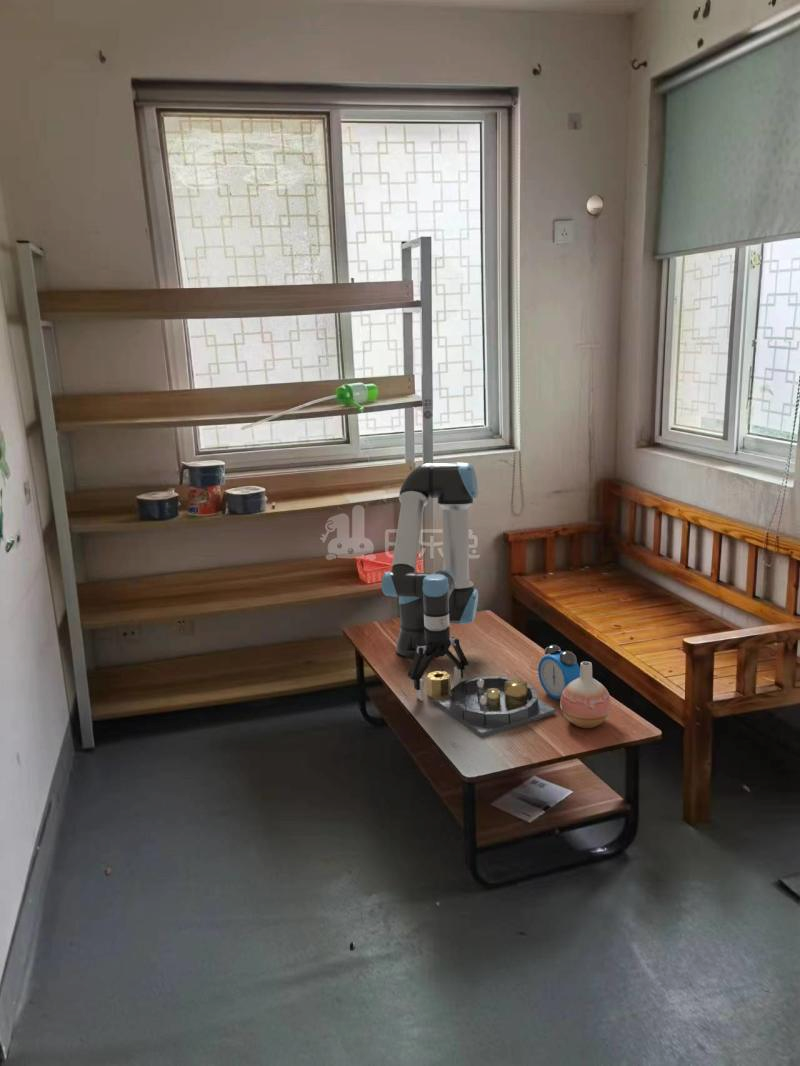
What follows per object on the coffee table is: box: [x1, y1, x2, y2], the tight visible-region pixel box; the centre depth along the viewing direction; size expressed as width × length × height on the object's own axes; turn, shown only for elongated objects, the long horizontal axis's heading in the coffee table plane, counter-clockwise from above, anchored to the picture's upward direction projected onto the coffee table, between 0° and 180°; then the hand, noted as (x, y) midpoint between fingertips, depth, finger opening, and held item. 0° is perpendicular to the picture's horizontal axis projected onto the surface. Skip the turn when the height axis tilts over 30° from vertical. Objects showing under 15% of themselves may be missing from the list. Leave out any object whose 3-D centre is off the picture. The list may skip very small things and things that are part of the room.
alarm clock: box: [537, 644, 580, 700], centre depth 235 cm, size 13×6×15 cm, turn 30°
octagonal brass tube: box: [426, 670, 452, 699], centre depth 241 cm, size 6×6×6 cm
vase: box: [559, 660, 612, 729], centre depth 218 cm, size 14×14×18 cm
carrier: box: [433, 675, 557, 738], centre depth 230 cm, size 25×25×8 cm
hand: (439, 693), depth 241 cm, fingers open, 12 cm apart
